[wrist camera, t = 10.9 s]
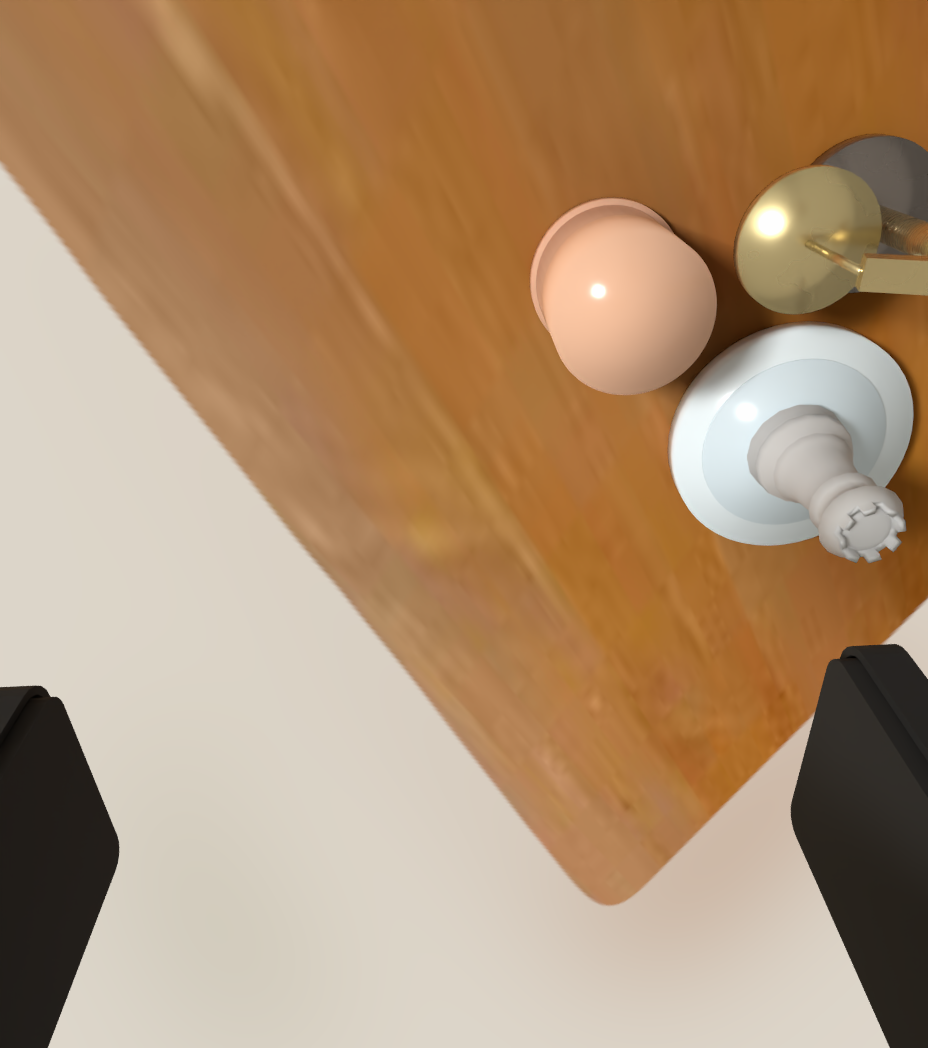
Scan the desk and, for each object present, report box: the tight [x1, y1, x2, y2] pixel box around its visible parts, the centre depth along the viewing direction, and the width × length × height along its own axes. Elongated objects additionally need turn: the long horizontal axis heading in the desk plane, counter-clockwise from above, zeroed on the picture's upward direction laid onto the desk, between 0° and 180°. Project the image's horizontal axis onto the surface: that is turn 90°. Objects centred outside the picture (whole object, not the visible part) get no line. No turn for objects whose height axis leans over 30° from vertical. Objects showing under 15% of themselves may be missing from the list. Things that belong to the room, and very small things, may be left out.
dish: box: [668, 321, 913, 545], centre depth 38 cm, size 11×11×1 cm
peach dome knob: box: [530, 197, 717, 395], centre depth 32 cm, size 6×6×6 cm
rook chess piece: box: [747, 405, 906, 563], centre depth 34 cm, size 4×4×8 cm
